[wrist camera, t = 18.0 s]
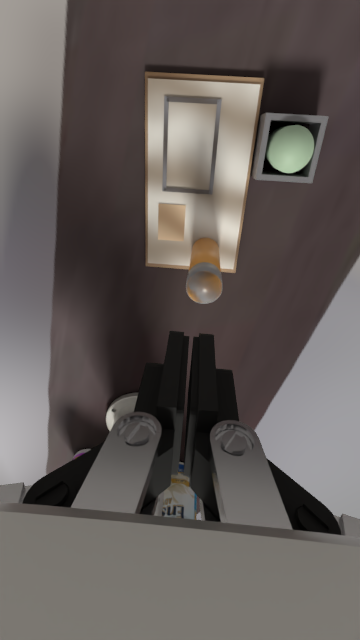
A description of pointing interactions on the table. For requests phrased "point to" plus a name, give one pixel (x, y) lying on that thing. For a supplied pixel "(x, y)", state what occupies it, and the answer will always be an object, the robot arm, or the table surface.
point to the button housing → (304, 174)
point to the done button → (289, 148)
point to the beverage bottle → (179, 497)
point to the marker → (204, 272)
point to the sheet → (197, 163)
